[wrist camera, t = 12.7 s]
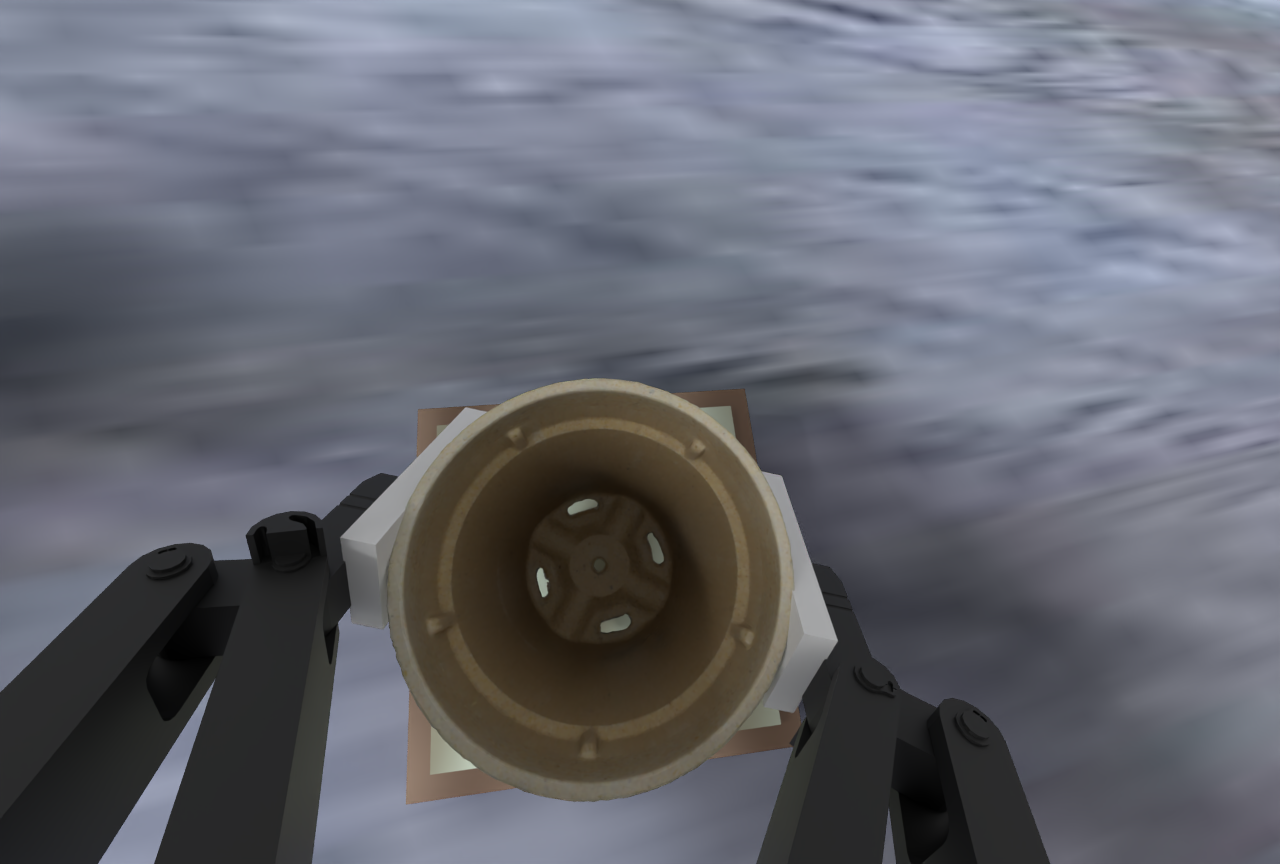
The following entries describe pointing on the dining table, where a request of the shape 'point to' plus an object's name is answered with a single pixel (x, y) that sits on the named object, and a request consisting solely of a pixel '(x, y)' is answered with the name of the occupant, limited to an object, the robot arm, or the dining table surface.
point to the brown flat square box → (450, 775)
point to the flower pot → (590, 590)
